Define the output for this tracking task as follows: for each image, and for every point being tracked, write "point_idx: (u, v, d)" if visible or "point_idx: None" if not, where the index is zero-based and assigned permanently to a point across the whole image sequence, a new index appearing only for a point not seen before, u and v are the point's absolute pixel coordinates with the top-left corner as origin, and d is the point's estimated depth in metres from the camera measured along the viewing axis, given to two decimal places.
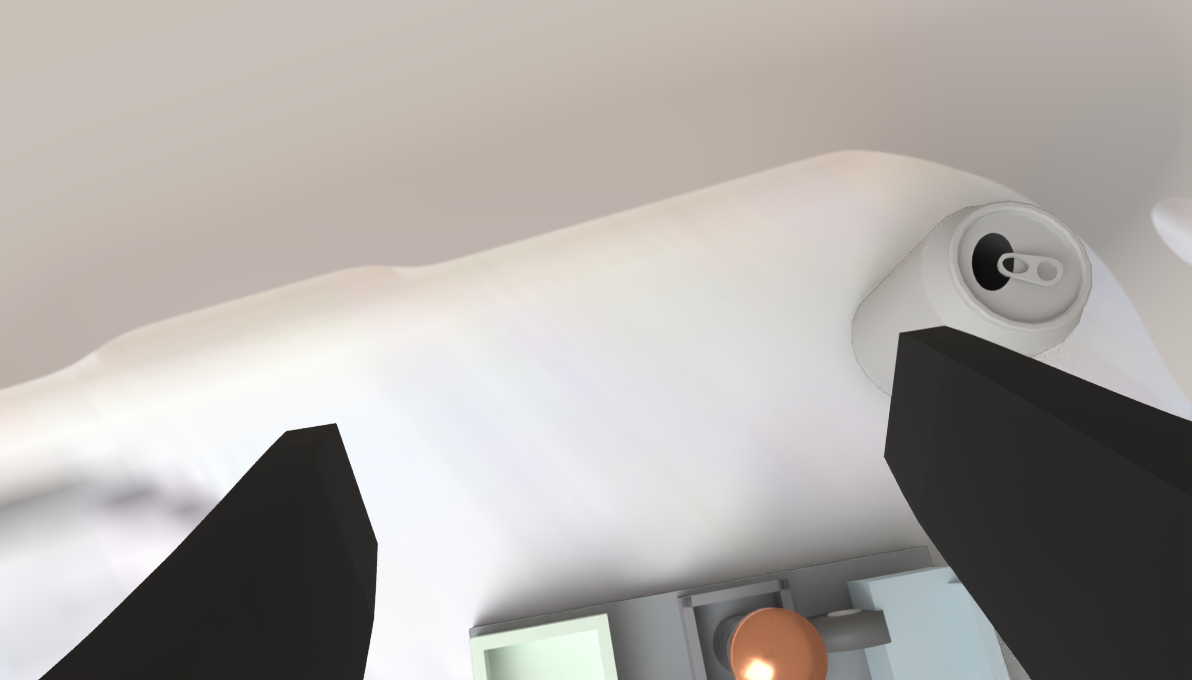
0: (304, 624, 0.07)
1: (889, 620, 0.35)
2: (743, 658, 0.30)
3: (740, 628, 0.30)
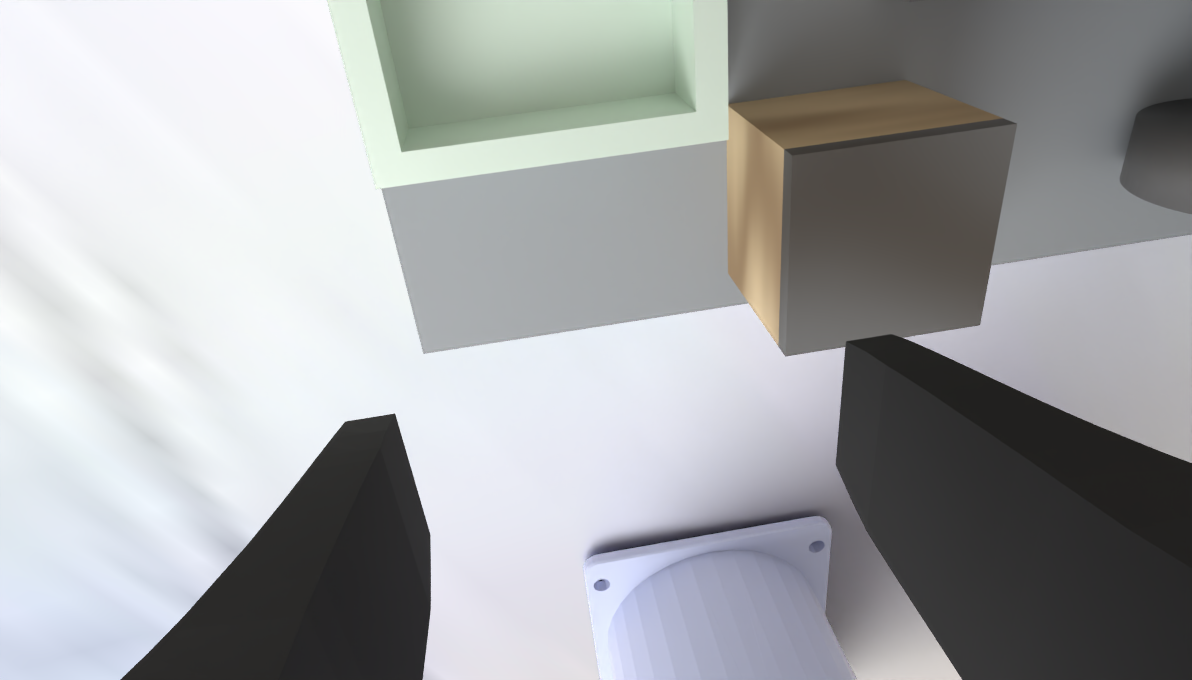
0: (376, 611, 0.07)
1: None
2: None
3: None
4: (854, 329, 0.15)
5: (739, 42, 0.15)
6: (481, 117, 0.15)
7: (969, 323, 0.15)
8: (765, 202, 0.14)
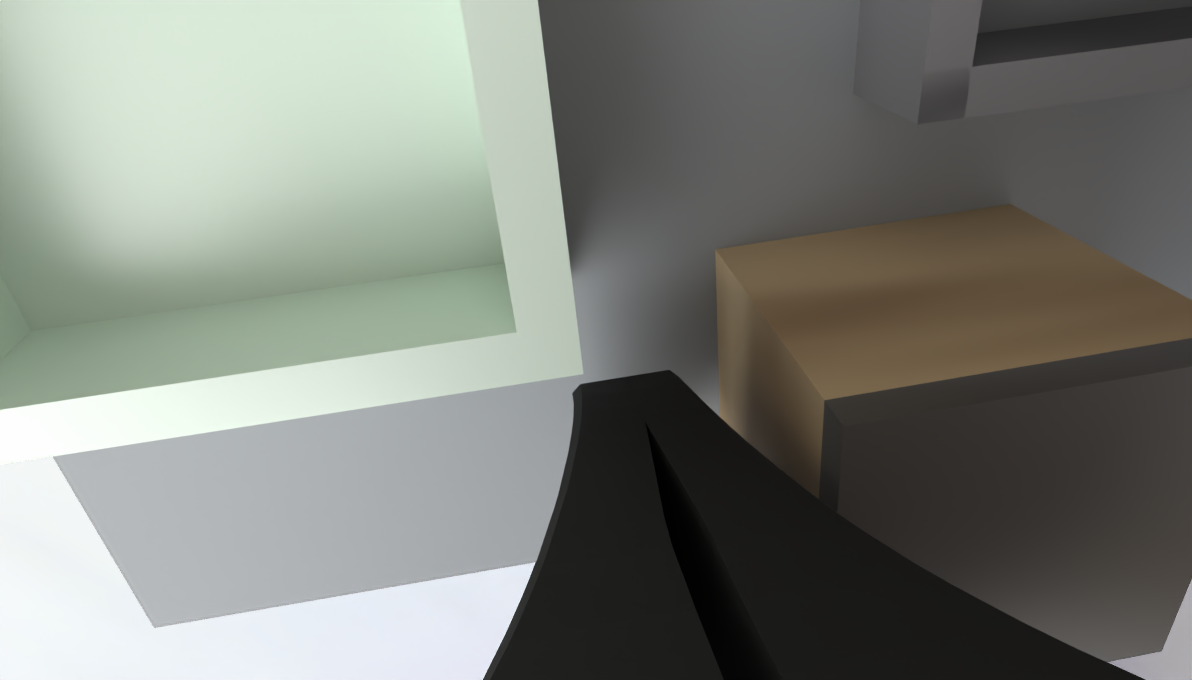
0: None
1: None
2: None
3: None
4: None
5: (623, 173, 0.09)
6: (162, 310, 0.08)
7: (1142, 645, 0.09)
8: (784, 452, 0.08)
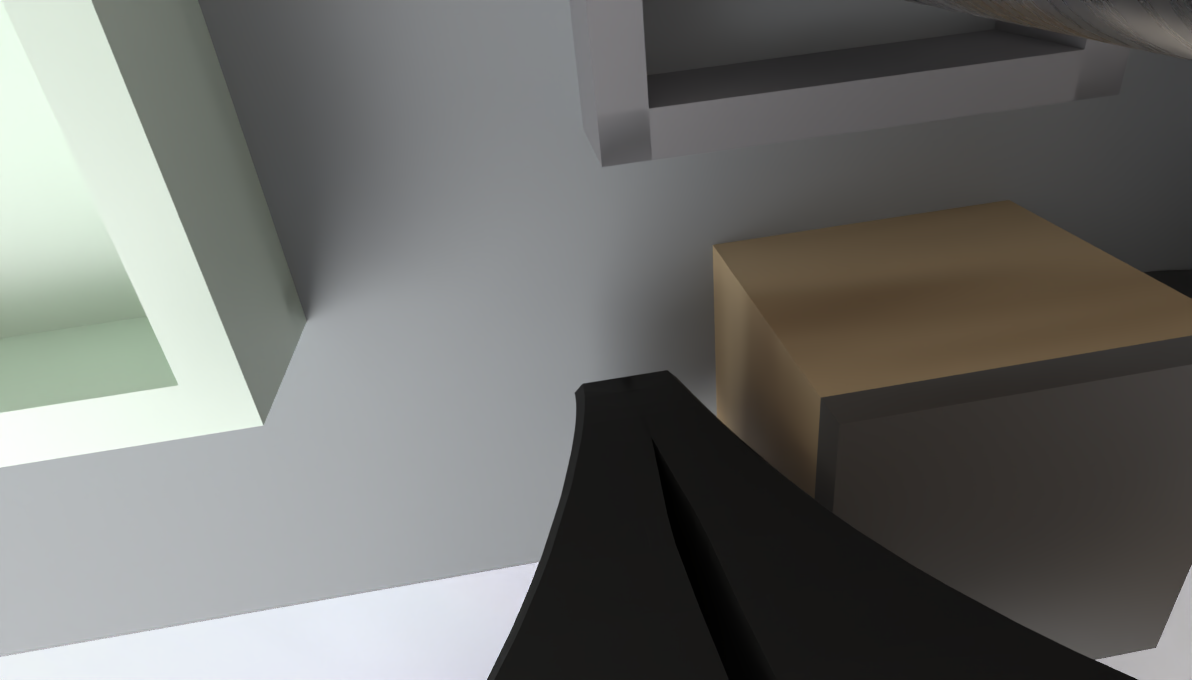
0: None
1: None
2: None
3: None
4: None
5: (351, 211, 0.09)
6: None
7: (1137, 642, 0.09)
8: (781, 449, 0.08)
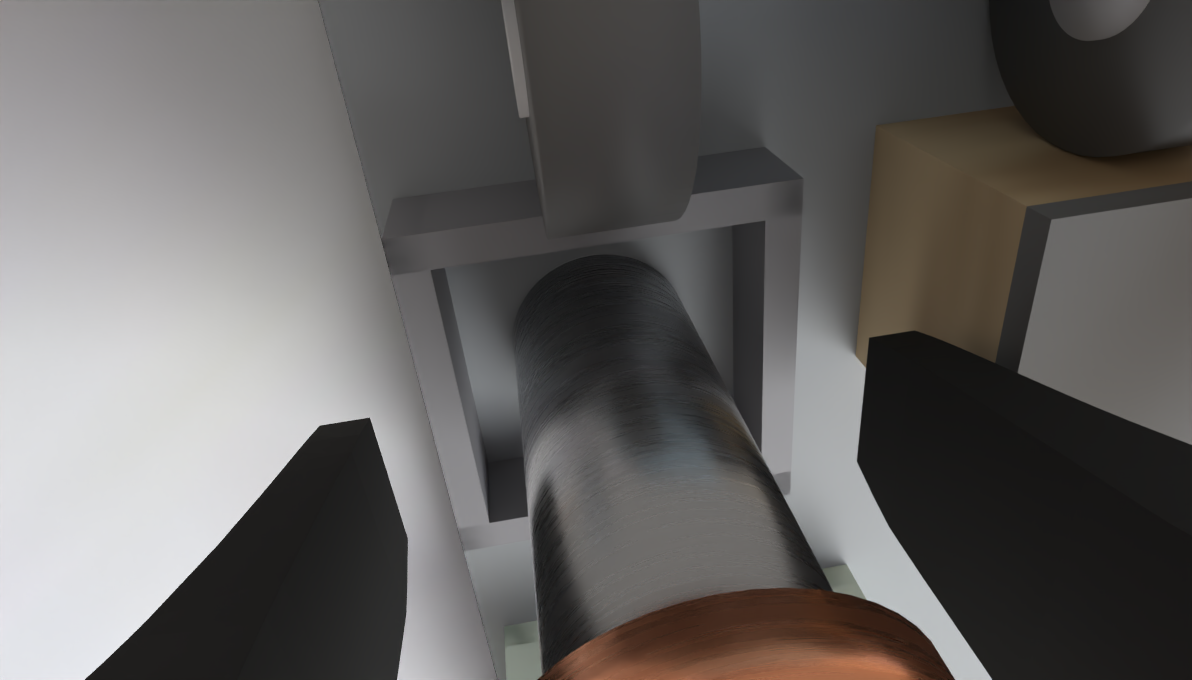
0: (345, 616, 0.07)
1: None
2: None
3: None
4: None
5: None
6: None
7: None
8: None
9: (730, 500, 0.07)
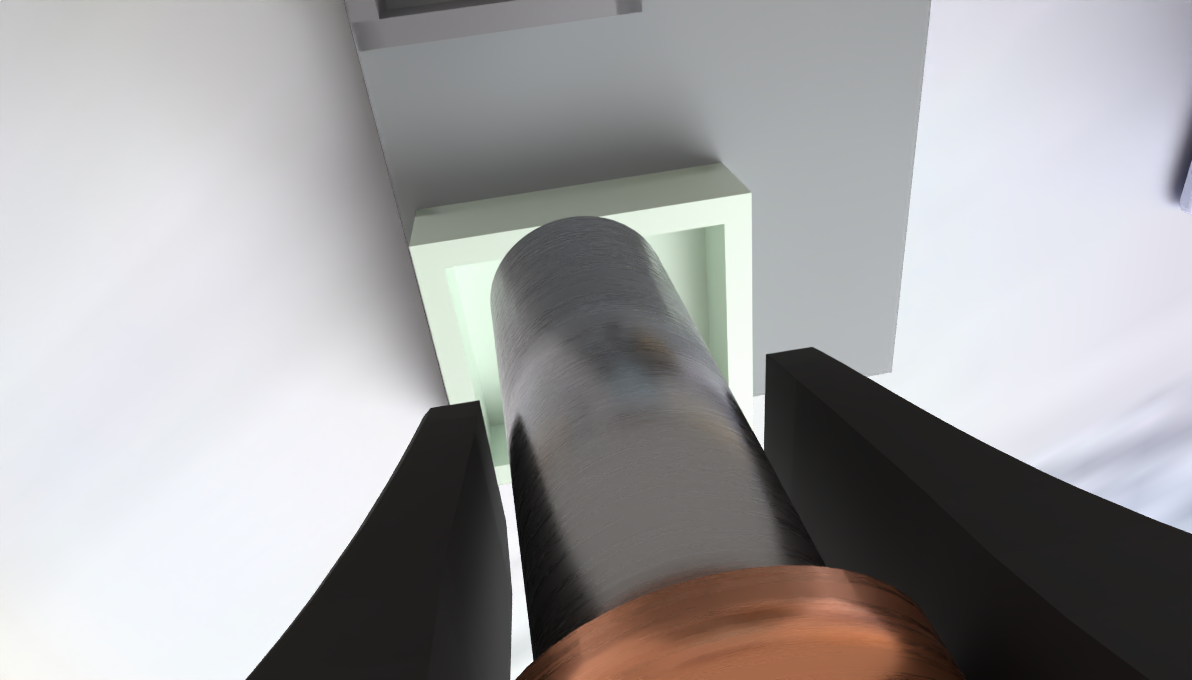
0: (481, 592, 0.07)
1: None
2: None
3: None
4: None
5: (664, 132, 0.17)
6: (708, 342, 0.19)
7: None
8: None
9: (717, 473, 0.07)
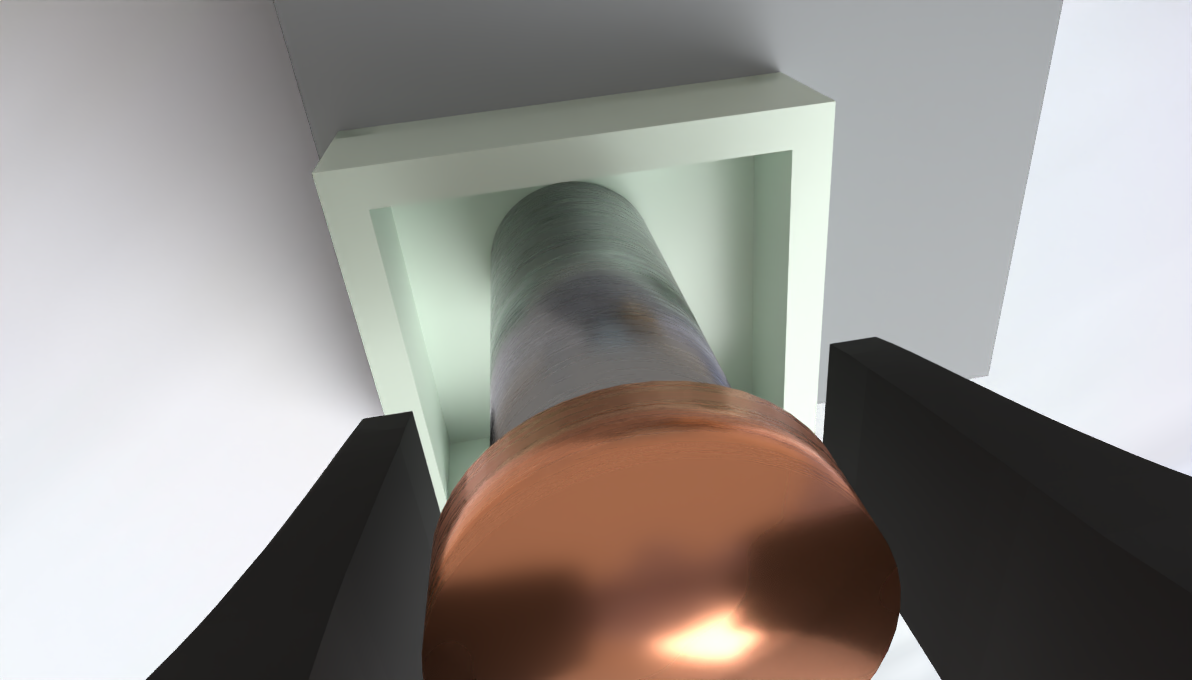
0: (398, 607, 0.07)
1: None
2: None
3: None
4: None
5: (700, 23, 0.12)
6: (751, 331, 0.14)
7: None
8: None
9: (658, 348, 0.07)
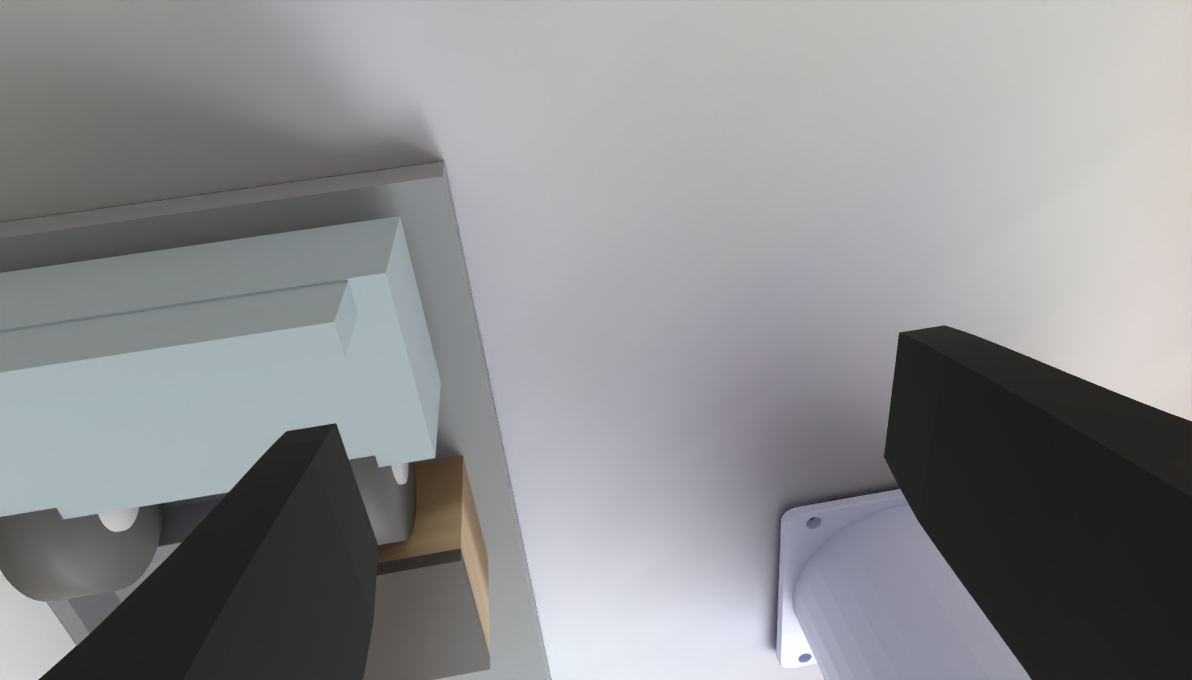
0: (303, 622, 0.07)
1: (11, 501, 0.15)
2: None
3: None
4: (466, 637, 0.19)
5: None
6: None
7: (461, 561, 0.18)
8: None
9: None
